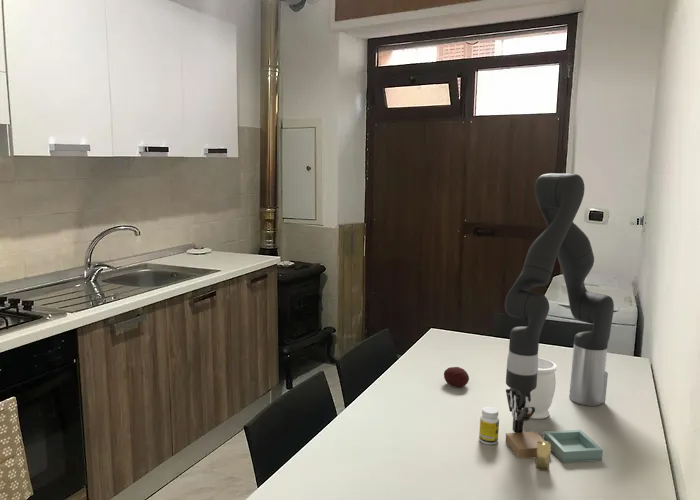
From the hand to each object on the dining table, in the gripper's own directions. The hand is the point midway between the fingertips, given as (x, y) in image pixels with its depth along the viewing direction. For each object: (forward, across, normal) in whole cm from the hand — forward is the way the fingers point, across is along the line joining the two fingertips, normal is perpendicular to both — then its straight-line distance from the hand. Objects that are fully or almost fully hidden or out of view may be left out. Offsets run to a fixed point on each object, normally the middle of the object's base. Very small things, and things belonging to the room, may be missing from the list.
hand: (517, 431), depth 143 cm
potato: (+2, +35, +5) cm, 35 cm away
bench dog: (+2, -14, 0) cm, 14 cm away
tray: (+2, -7, -11) cm, 13 cm away
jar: (+2, +14, -11) cm, 18 cm away
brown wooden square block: (+3, -5, 0) cm, 6 cm away
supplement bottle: (+2, 0, +8) cm, 8 cm away
